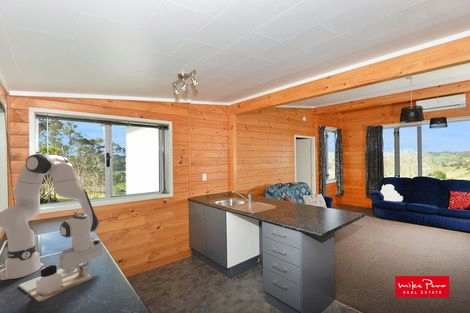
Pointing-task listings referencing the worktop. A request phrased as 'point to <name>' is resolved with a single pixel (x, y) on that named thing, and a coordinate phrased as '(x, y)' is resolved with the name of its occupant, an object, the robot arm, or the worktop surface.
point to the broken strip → (31, 284)
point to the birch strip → (66, 283)
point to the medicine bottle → (48, 280)
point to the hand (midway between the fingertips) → (83, 270)
